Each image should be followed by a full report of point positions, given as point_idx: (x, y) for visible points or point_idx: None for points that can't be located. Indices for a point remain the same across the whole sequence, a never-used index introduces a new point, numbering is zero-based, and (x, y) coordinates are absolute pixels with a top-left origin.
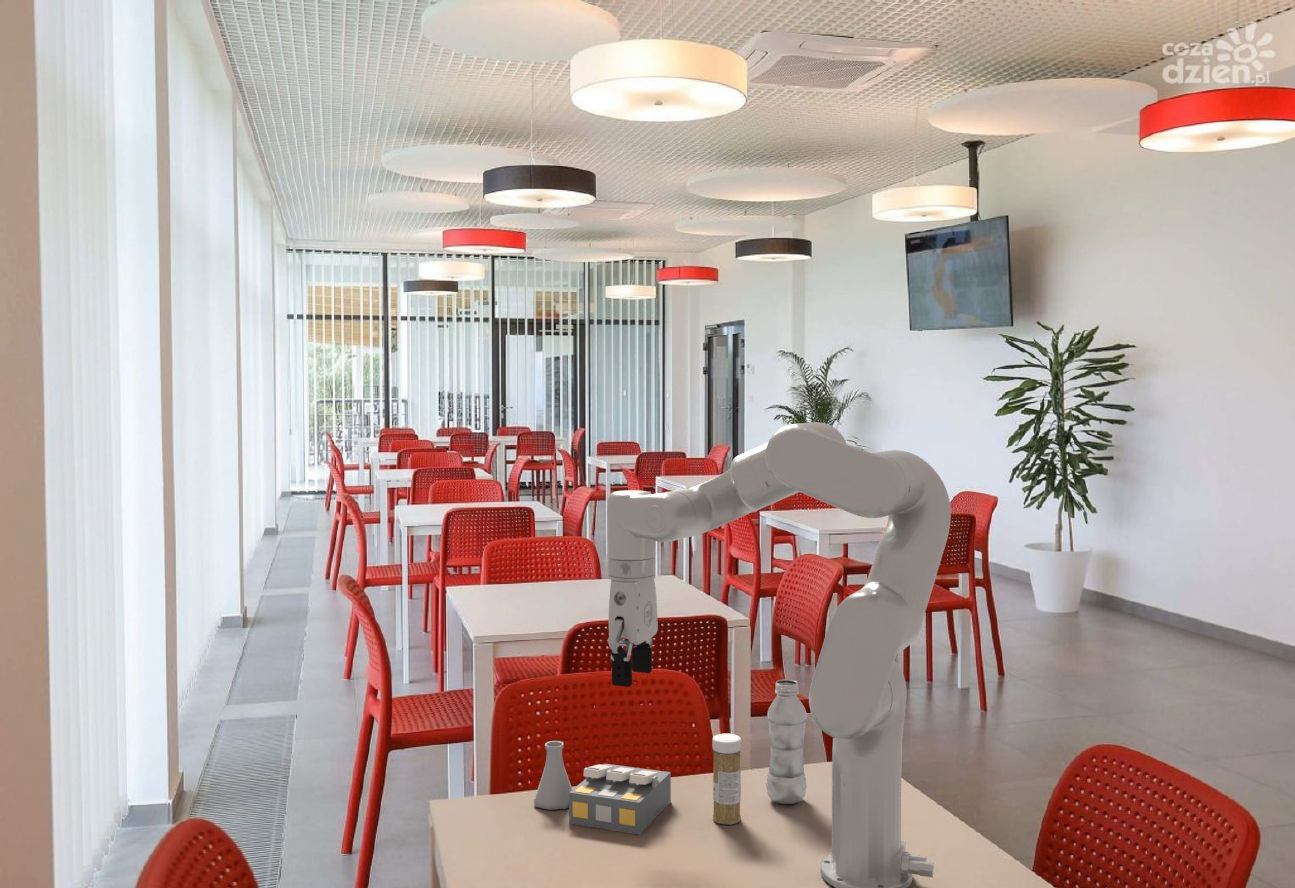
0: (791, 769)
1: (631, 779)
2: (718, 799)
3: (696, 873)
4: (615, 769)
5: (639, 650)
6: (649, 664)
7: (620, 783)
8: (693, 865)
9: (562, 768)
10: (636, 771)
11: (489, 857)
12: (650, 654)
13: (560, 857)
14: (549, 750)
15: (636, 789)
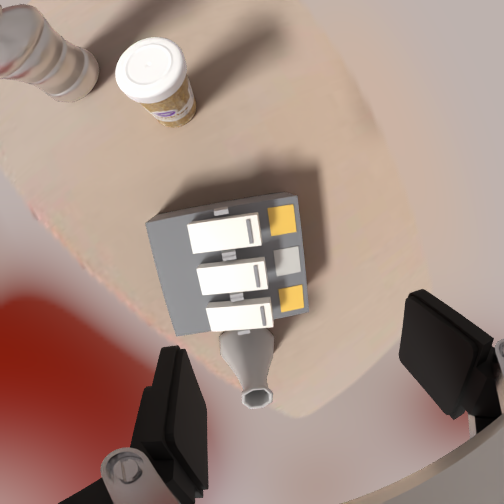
0: (74, 45)
1: (261, 239)
2: (192, 102)
3: (345, 80)
4: (233, 290)
5: (197, 468)
6: (180, 373)
7: None
8: (330, 89)
9: (251, 364)
10: (175, 276)
11: (399, 304)
12: (165, 412)
13: (379, 243)
14: (268, 393)
15: None
